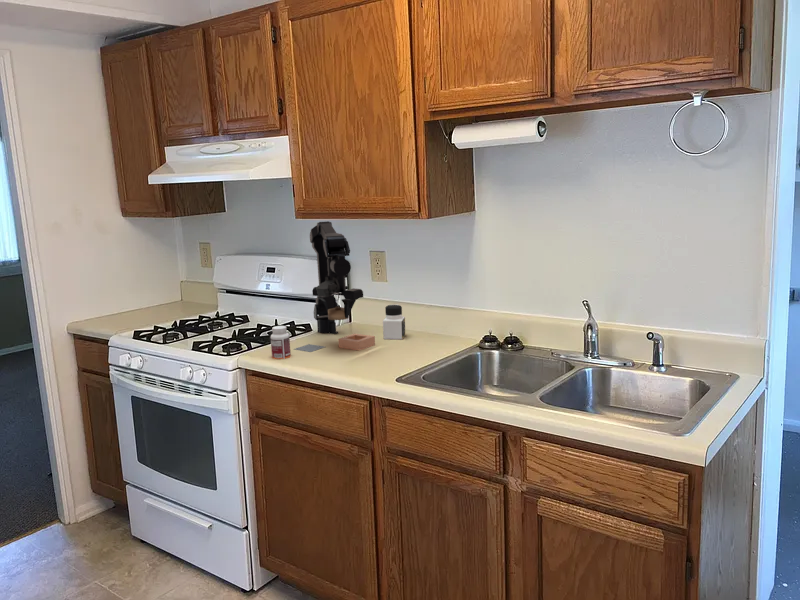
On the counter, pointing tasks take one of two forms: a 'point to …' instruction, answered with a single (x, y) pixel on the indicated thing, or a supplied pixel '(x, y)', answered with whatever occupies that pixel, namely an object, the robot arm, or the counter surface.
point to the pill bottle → (280, 343)
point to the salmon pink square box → (356, 341)
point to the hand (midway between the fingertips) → (338, 317)
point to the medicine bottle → (393, 323)
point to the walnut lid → (336, 313)
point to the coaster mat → (309, 348)
